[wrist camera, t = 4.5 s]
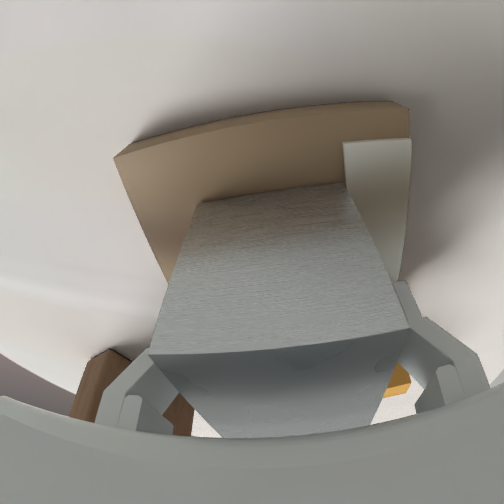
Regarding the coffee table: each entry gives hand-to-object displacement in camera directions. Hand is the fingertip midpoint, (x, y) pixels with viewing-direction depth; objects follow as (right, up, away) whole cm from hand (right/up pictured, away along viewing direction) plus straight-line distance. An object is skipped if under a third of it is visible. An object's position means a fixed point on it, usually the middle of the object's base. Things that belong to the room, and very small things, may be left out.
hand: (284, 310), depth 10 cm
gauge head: (+1, +1, +3) cm, 3 cm away
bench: (+1, -1, +6) cm, 6 cm away
